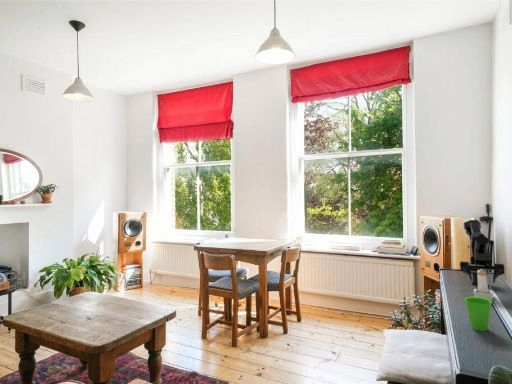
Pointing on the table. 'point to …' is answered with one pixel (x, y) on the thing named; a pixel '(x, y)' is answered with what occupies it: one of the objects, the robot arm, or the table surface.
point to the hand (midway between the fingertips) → (482, 282)
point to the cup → (478, 312)
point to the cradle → (484, 294)
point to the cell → (482, 281)
